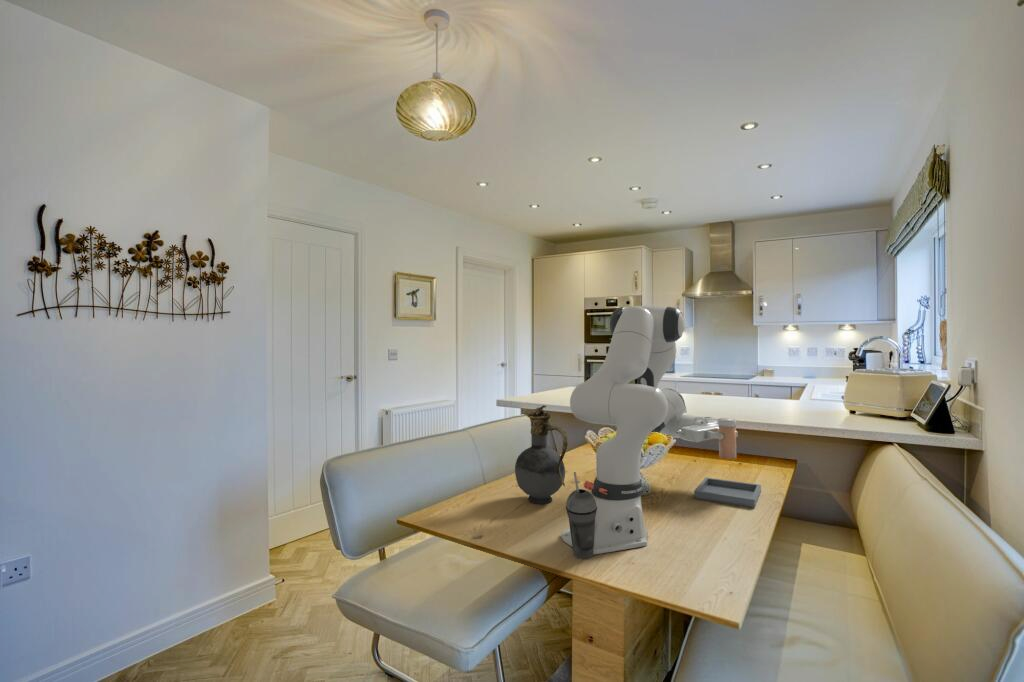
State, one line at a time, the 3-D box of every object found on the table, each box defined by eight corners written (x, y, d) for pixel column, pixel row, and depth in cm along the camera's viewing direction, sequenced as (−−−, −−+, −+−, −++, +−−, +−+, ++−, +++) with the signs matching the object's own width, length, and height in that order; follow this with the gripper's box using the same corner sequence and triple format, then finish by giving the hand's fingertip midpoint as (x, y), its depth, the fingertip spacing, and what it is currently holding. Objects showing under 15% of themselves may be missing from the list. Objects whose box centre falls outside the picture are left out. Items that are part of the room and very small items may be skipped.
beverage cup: (599, 563, 110) (596, 478, 108) (566, 562, 112) (563, 478, 109) (598, 545, 118) (595, 466, 115) (568, 544, 119) (564, 466, 116)
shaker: (729, 459, 152) (728, 421, 152) (715, 456, 157) (714, 419, 156) (740, 457, 155) (739, 419, 154) (725, 454, 159) (725, 417, 159)
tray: (754, 508, 144) (754, 499, 144) (694, 498, 153) (694, 490, 153) (761, 492, 158) (760, 484, 158) (705, 484, 167) (705, 477, 167)
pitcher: (534, 491, 163) (533, 401, 163) (579, 504, 149) (577, 406, 149) (510, 498, 156) (509, 404, 155) (555, 513, 142) (553, 410, 142)
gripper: (672, 422, 162) (707, 428, 150) (713, 416, 172) (749, 422, 160) (672, 441, 162) (707, 449, 150) (714, 434, 172) (750, 441, 160)
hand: (729, 435), depth 155 cm, fingers closed on shaker, 5 cm apart
